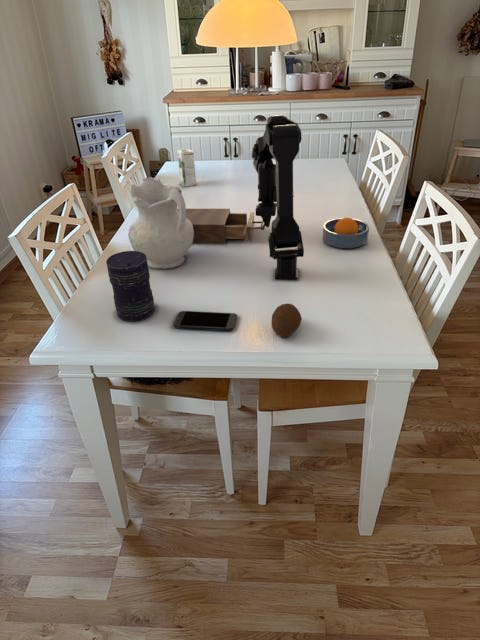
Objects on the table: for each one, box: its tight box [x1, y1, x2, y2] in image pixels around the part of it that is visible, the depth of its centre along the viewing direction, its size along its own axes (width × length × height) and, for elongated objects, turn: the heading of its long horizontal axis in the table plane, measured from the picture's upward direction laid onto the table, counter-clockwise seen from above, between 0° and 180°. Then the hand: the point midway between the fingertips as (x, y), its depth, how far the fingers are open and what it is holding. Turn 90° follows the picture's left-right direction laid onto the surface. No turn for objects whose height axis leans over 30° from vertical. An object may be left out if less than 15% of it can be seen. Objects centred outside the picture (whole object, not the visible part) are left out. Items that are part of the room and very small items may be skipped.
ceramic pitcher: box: [127, 176, 194, 270], centre depth 142 cm, size 22×20×25 cm
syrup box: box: [177, 148, 197, 188], centre depth 209 cm, size 6×6×14 cm
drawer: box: [225, 211, 266, 242], centre depth 162 cm, size 22×13×5 cm, turn 83°
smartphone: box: [172, 310, 238, 332], centre depth 119 cm, size 7×15×1 cm, turn 81°
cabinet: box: [177, 208, 231, 245], centre depth 164 cm, size 19×15×7 cm
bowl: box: [322, 217, 370, 249], centre depth 155 cm, size 14×14×5 cm
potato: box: [271, 302, 303, 338], centre depth 113 cm, size 7×10×7 cm
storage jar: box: [105, 250, 156, 323], centre depth 121 cm, size 10×10×15 cm
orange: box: [334, 217, 358, 235], centre depth 153 cm, size 7×7×7 cm
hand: (267, 226), depth 161 cm, fingers closed, pressing on drawer
